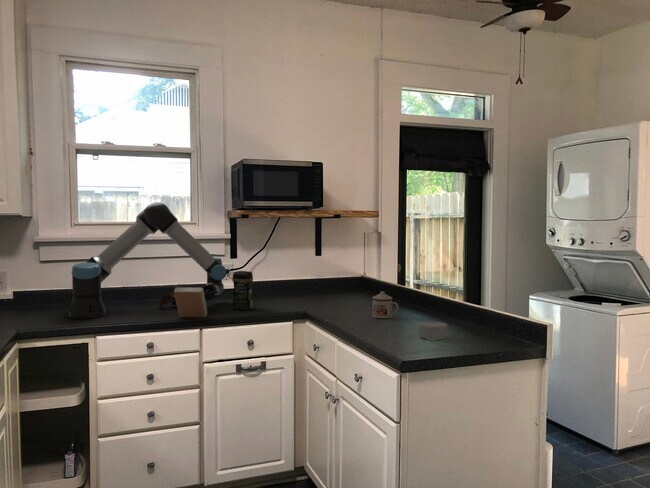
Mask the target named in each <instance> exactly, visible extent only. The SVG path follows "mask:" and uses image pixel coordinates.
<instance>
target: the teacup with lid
mask: <svg viewBox="0 0 650 488" xmlns="http://www.w3.org/2000/svg"><path fill="white" fill-rule="evenodd" d="M371 300H372V318H373V317H375V318H390V319H392V318H391V317H393V314H395V313H397V312H398V311H399V304H398V303H397V302H395V301H393V297H392V296H390V295H388V294H386V292H385V291H380V292H379V293H378V294H376V295H374V296H372V299H371ZM393 305H395V306H396V309H395V311H393ZM375 318H374V319H375Z"/></svg>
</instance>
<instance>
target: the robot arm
mask: <svg viewBox="0 0 650 488" xmlns="http://www.w3.org/2000/svg"><path fill="white" fill-rule="evenodd" d="M135 219H136V220H135V222H134V223H132V225H130V226H129V227H128V228H127V229H126V230H125V231H123V233H122V234H120V235H119V236H118V237H117V238H116V239H115V240H114V241H113V242H112V243H111V244H109V245H108V246H106V248H105V249H104V250H103V251H101V252H100V253H99V254H98V255H92V257H90V258H89V259H88V260H87V261H86V262H80V263H77V264H74V265H73V266H72V268H71V277H72V278H71V281H72V282H71V283H72V301H71V303H70V308H69V310H68V318H71V319H78V320H79V319H81V320H82V319H83V320H84V319H93V318H100V317H103V316H106V314H107V313H106V312H107V311H106V310H107V309H106V307H105V304H104V302H103V299H102V282H104V280H106V279H107V278H108V277H109V276H110V275H111V274H112V269H113V268H114V267H115V266H116V265H117V264H119V262H121V261H122V259H124V258H125V257H126V256H127V255H128V254H130V252H131V251H132V250H133V249H135V247H137V246H138V245H139V244H140V243H141V242H142V241H143V240H145V239H146V237H148V236H149V235H151V234H152V235H154V234H156V232H158V231H159V232H161V233H162V234H164V235H167V236H168V237H169V238H170V239H171V240H172V241H173V242H174V243H175V244H176V245H177V246H179V248H180V249H182V250H183V251H184V253H186V254H187V255H188V256H189V257H190V258H191V259H192V260H193V261H194V262H195V263H196V264H198V266H199V267H201V268H202V269H203V270H204V271H205V272H206V284H204V285H202V286H201V288H203V290H204V296H205V301H210V300H212V299H214V298H217V297H219V295H221V294H222V293H223V292H224V290H225V289H224V288H225V286H224V283H223V280H224V279H225V277H226V276H227V272H228V271H227V269H226V266H224V265H223V262H222V259H221V258H220V257H214V256H213V255H212V254H211V253H210V252H209V251H208V250H207V249H206V248H205V247H204V246H203V245H202V244H201V243H200V242H199V241H198V240H197V239H195V237H194V236H193V235H191V234H190V233H189V231H187V230H186V228H184V227H183V225H181V224H180V223H179V222H178V221H179V220H178V218H177V217H176V215H174V214H173V213H172V212H171V209H170V208H169V207H168V206H167V205H166V204H165V203H162V202H159V201H155V202H151V203H149V204H148V205H147V206H146V207H145V208H144V209H143V210H142V211H141V212H139V213H138V215H137V216H136V218H135Z"/></svg>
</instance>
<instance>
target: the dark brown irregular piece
mask: <svg viewBox="0 0 650 488" xmlns="http://www.w3.org/2000/svg"><path fill="white" fill-rule="evenodd" d="M168 301H169V302H171V304H172V305H173V306H177V303H176V299H175V294H174V293H172V292H171V293H170V292H169V293H167V294H165V295H164V296H162V297H161V298H160V299H159V300H158V303H159V307H160V308H163V306H164V305H168Z"/></svg>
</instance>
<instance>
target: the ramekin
mask: <svg viewBox="0 0 650 488" xmlns="http://www.w3.org/2000/svg"><path fill="white" fill-rule="evenodd" d="M416 327H417V335H418V337H419V336H420V337H423V338H429V339H438V338H444V339H445V337H446V332H447V328H448V324H447V323H444V322H440V321H430V320H428V321H427V320H425V321H418V322H417V323H416ZM420 337H419V338H420Z"/></svg>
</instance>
